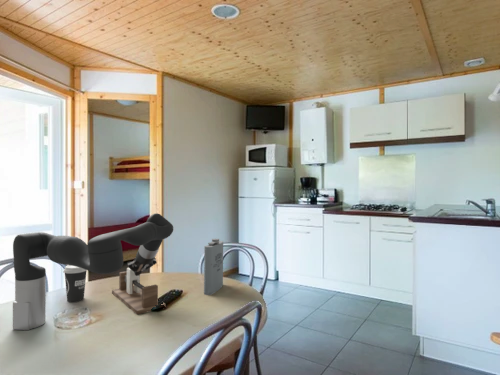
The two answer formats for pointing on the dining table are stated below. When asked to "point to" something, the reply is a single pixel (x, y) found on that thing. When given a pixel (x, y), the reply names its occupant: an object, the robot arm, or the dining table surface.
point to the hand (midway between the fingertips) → (137, 273)
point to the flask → (213, 266)
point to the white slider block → (130, 278)
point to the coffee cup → (75, 283)
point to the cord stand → (137, 295)
